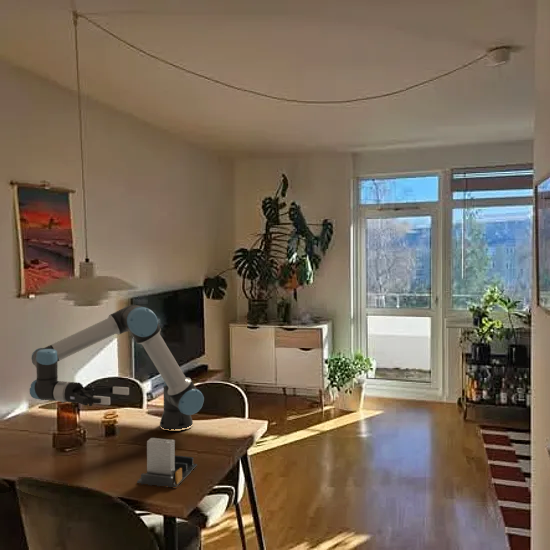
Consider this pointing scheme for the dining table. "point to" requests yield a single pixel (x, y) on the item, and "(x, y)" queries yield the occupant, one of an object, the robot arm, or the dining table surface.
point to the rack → (181, 472)
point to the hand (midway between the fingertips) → (119, 396)
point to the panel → (161, 457)
